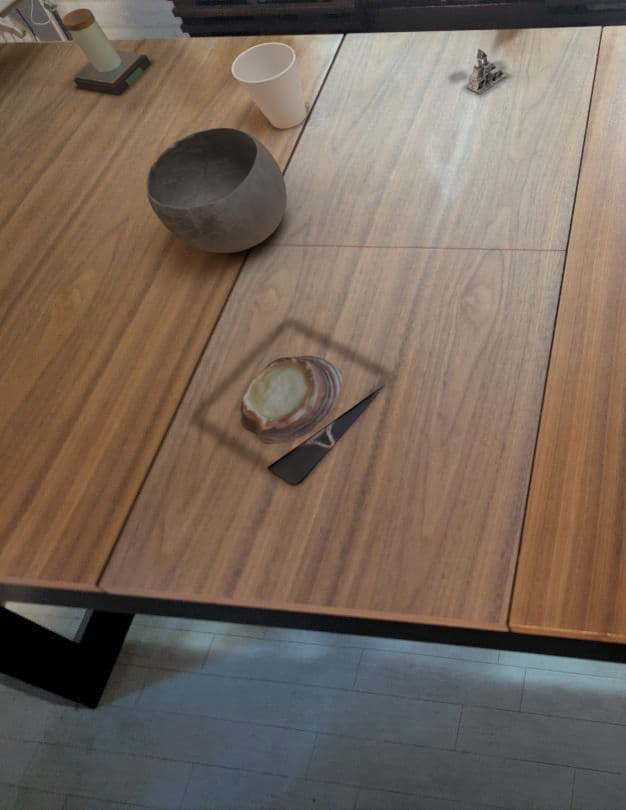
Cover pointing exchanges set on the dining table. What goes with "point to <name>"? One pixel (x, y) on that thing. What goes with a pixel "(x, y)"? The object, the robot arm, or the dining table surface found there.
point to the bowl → (218, 190)
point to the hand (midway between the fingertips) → (39, 21)
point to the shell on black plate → (297, 410)
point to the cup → (272, 82)
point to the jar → (92, 40)
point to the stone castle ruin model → (484, 74)
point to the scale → (113, 74)
